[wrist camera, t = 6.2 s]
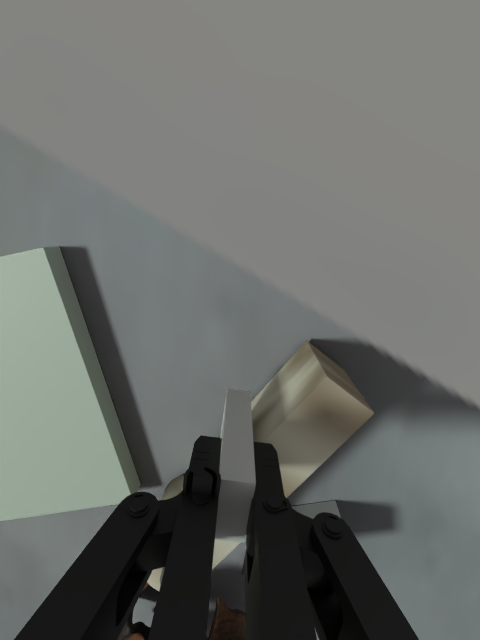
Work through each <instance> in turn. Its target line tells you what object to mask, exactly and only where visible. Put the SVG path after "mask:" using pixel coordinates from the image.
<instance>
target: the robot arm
mask: <svg viewBox="0 0 480 640" xmlns="http://www.w3.org/2000/svg"><path fill="white" fill-rule="evenodd" d="M278 461H279V460H278V454H277V451H276V449H275V448H274V447H273V445H272V444H270V443H262V442H254V441H253V428H252V412H251V396H250V392H249V391H242V390H234V389H227V393H226V400H225V407H224V414H223V421H222V428H221V436H220V438H216V437H208V436H200V437H199V438H198V439H197V440H196V441H195V443H194V448H193V452H192V457H191V461H190V466H189V469H188V470H187V471H186V473H185V475H184V480H183V489H182V491H181V492H180V493H179V494H178V495H177V496H175V497H173V498H170V499H166V500H160V501H158V500H157V499H156V497H155V496H154V495H152V494H150V493H147V492H136V493H133V494H131V495H129V496H127V497H126V498H125V499H123V500H122V501H121V502H120V504H119V505H118V506H117V508H116V509H115V510H114V512H113V513H112V514H111V515H110V517H109V518H108V519H107V521H106V522H105V523H104V524H103V526H102V527H101V528H100V530H99V531H98V532H97V533H96V535H95V536H94V537H93V539H92V540H91V541H90V542H89V544H88V545H87V546H86V548H85V549H84V550H83V551H82V553H81V554H80V555H79V557H78V558H77V559H76V560H75V562H74V563H73V564H72V566H71V567H70V568H69V570H68V571H67V572H66V573H65V575H64V576H63V577H62V579H61V580H60V581H59V582H58V584H57V585H56V586H55V588H54V589H53V590H52V591H51V593H50V594H49V595H48V597H47V598H46V599H45V600H44V602H43V603H42V604H41V606H40V607H39V608H38V609H37V611H36V612H35V613H34V615H33V616H32V617H31V618H30V620H29V621H28V622H27V624H26V625H25V626H24V628H23V629H22V630H21V631H20V633H19V634H18V635H17V637H16V638H15V639H14V640H117V639H118V637H119V635H120V633H121V631H122V629H123V627H124V625H125V623H126V621H127V620H128V618H129V616H130V614H131V612H132V610H133V608H134V606H135V604H136V602H137V600H138V598H139V596H140V594H141V592H142V590H143V589H144V587H145V585H146V583H147V581H148V579H149V577H150V575H151V573H152V570H154V569H158V568H163V567H165V569H164V573H163V577H162V582H161V586H160V590H159V595H158V599H157V603H156V607H155V612H154V616H153V620H152V625H151V629H150V633H149V637H148V640H206V630H207V619H208V608H209V597H210V586H211V575H212V564H213V553H214V542H215V540H224V541H232V542H241V543H245V539H246V546H247V549H246V554H245V559H244V564H243V570H242V574H245V598H246V640H317V638H316V633H315V629H316V632H317V635H318V637H319V640H419V639H418V637H417V636H416V634H415V632H414V631H413V629H412V628H411V626H410V624H409V623H408V621H407V620H406V618H405V616H404V615H403V613H402V611H401V610H400V608H399V607H398V605H397V603H396V602H395V600H394V599H393V597H392V595H391V594H390V592H389V590H388V589H387V587H386V586H385V584H384V582H383V581H382V579H381V578H380V576H379V574H378V573H377V571H376V570H375V568H374V566H373V565H372V563H371V561H370V560H369V558H368V557H367V555H366V553H365V552H364V550H363V549H362V547H361V545H360V544H359V542H358V540H357V539H356V537H355V536H354V534H353V532H352V531H351V529H350V528H349V526H348V525H347V524H346V523H345V521H344V520H342V519H341V518H340V517H338V516H337V515H334V514H332V513H327V512H322V513H319V514H317V515H316V516H315V517H314V519H312V518H310V517H307V516H305V515H303V514H301V513H299V512H297V511H296V510H294V509H293V508H292V507H291V505H290V502H289V500H288V499H287V498H286V497H285V495H284V490H283V484H282V478H281V472H280V466H279V462H278ZM314 627H315V628H314Z"/></svg>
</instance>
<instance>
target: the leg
mask: <svg viewBox="0 0 480 640" xmlns="http://www.w3.org/2000/svg"><path fill="white" fill-rule="evenodd" d="M251 412H252V428H253V441H254V442H262V443H270V444H272V445H273V447H274V448H275V449H276V451H277V454H278V460H279V461H278V462H279V466H280V472H281V478H282V484H283V490H284V495H285V497H286V498H287V497H288V496H289V495H290V494H291V493H292V492H293V491H295V490H296V489H297V488H298V487H299V486H300V485H301V484H302V483H303V482H304V481H305V480H306V479H307V478H308V477H309V476H310V475H311V474H312V473H313V472H314V471H315V470H316V469H317V468H318V467H319V466H321V465H322V464H323V463H324V462H325V461H326V460H327V459H328V458H329V457H330V456H331V455H332V454H333V453H334V452H335V451H336V450H337V449H338V448H339V447H340V446H341V445H342V444H343V443H344V442H345V441H346V440H348V439H349V438H350V437H351V436H352V435H353V434H354V433H355V432H356V431H357V430H358V429H359V428H360V427H361V426H362V425H363V424H364V423H365V422H366V421H367V420H368V419H369V418H370V417H371V416H372V415H374V414H375V413H374V412H373V410H372V409H371V407H370V406H369V405H368V403H367V402H366V400H365V399H364V398H363V396H362V395H361V393H360V392H359V390H358V389H357V388H356V386H355V385H354V383H353V382H352V381H351V379H350V378H349V376H348V375H347V373H346V372H345V371H344V369H343V368H341V367H340V366H339V365H338V364H336V363H335V362H334V361H333V360H331V359H330V358H329V357H327V356H326V355H325V354H324V353H322V352H321V351H320V350H319V349H317V348H316V347H315V346H313V345H312V344H311V343H310V342H308V341H306V342H305V343H304V344H303V345H302V346H301V347H300V348H299V350H298V351H297V352H296V353H295V354H294V355H293V356H292V357H291V358H290V360H289V361H288V362H287V363H286V364H285V365H284V366H283V367H282V368H281V370H280V371H279V372H278V373H277V374H276V375H275V376H274V377H273V378H272V380H271V381H270V382H269V383H268V384H267V385H266V386H265V387H264V388H263V390H262V391H261V392H260V393H259V394H258V395H257V396H256V397H255V398H254V399H253V401H252V402H251ZM219 438H220V437H219ZM183 480H184V475H182V476H179V477H177V478H175V479H173V480H172V481H171V482H170V483H169V484H168V485H167V487H166V489H165V492H164V495H163V498H162V500H166V499H170V498H173V497H175V496H177V495H178V494H179V493H180V492H181V491H182V489H183ZM239 543H240V542H232V541H224V540H215V542H214V553H213V564H212V572H213V568H215V567H216V566H217V565H218V564H219V563H220V562H221V561H222V560H223V559H224V558H225V557H226V556H227V555H228V554H229V553H230V552H231V551H232V550H233V549H234V548H235V547H236V546H237V545H238V544H239ZM164 569H165V567H163V568H158V569H154V570H152V573H151V575H150V577H149V579H148V581H147V583H148V584H149V585H150V586H151V587H153V588H154V589H156V590H157V591H159V590H160V586H161V582H162V577H163V573H164ZM211 578H212V575H211Z"/></svg>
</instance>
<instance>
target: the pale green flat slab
mask: <svg viewBox="0 0 480 640" xmlns="http://www.w3.org/2000/svg"><path fill="white" fill-rule="evenodd" d="M140 485H141V484H140V481H139V478H138V475H137V472H136V469H135V466H134V463H133V460H132V458H131V455H130V452H129V449H128V446H127V443H126V440H125V437H124V434H123V431H122V428H121V425H120V422H119V419H118V417H117V414H116V411H115V408H114V405H113V402H112V399H111V396H110V393H109V390H108V387H107V384H106V381H105V379H104V376H103V373H102V370H101V367H100V364H99V361H98V358H97V355H96V352H95V349H94V346H93V343H92V340H91V338H90V335H89V332H88V329H87V326H86V323H85V320H84V317H83V314H82V311H81V308H80V305H79V302H78V299H77V297H76V294H75V291H74V288H73V285H72V282H71V279H70V276H69V273H68V270H67V267H66V264H65V261H64V258H63V256H62V253H61V250H60V247H45V248H39V249H34V250H30V251H25V252H20V253H16V254H11V255H6V256H2V257H0V521H5V520H12V519H19V518H25V517H32V516H39V515H46V514H53V513H59V512H66V511H73V510H80V509H87V508H94V507H100V506H107V505H114V504H120V502H121V501H122V500H123V499H125V498H126V497H127V496H129V495H131V494H133V493H136V492H138V490H139V487H140ZM291 507H292V508H293V509H294V510H296V511H297V512H299V513H301V514H303V515H305V516H307V517H310V518H312V519H314V517H315V516H316V515H317V514H319V513H322V512H327V513H332V514H334V515H337V516H338V517H340V518H341V516H340V513H339V510H338V507H337V504H336V501H335V500H334V501H327V502H320V503H313V504H306V505H298V506H291Z"/></svg>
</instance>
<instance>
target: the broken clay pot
mask: <svg viewBox="0 0 480 640" xmlns="http://www.w3.org/2000/svg"><path fill="white" fill-rule="evenodd" d="M148 586H149V584H148V583H146V585H145V587H144V589H145V588H147V587H148ZM144 589H143V590H142V592H143V591H144ZM132 616H133V610H132V612H131V614H130V616H129V618H128V620H127V621H126V623H125V625H124V627H123V629H122V631H121V633H120V635H119V637H118V639H117V640H148V637H149V633H150V629H151V628H150V627H147V626H146V625H145V624H144V623H142V622H137V623H135V624H133V623H132ZM206 640H246V613H244V612H243V611H240V610H238V609H236V610H230V609H229V608H228V607H227V605H226V603H225V602H224V601H223V600H222V599H221V598H220V597H217V598H216V610H215V616H214V619H213V623H212V626H211V630H210V634H209V637H208V638H207V636H206Z"/></svg>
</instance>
